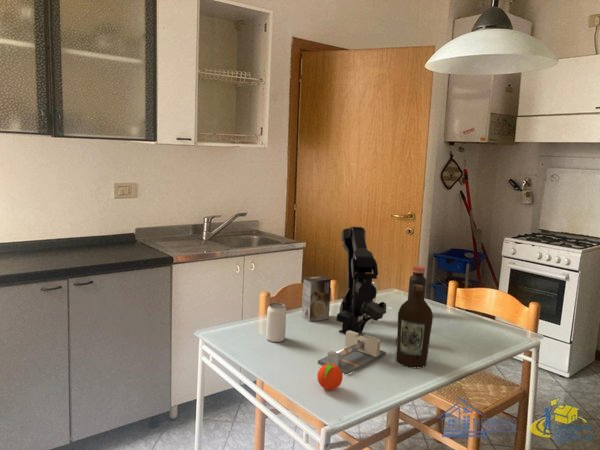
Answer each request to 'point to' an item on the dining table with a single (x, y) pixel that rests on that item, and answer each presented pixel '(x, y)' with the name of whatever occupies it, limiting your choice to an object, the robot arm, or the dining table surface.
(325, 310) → the coffee box
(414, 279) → the bottle
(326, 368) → the clementine
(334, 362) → the steel pipe
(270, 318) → the can
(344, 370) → the rail board
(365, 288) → the robot arm
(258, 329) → the dining table surface
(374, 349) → the cream flat bar
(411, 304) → the olive oil
